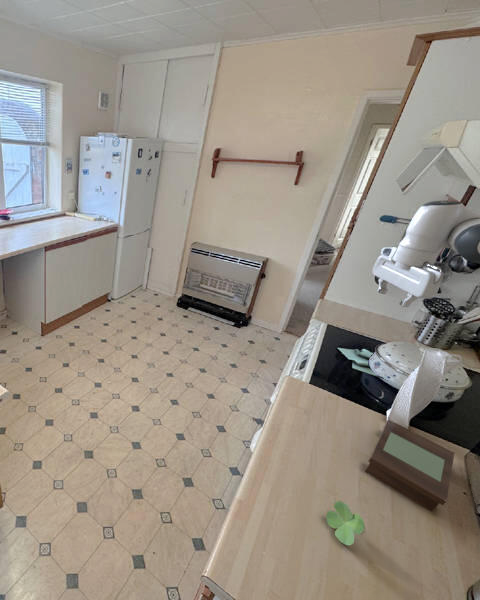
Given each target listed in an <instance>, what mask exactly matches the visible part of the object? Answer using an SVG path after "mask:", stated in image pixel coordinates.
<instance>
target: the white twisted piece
mask: <svg viewBox="0 0 480 600" xmlns="http://www.w3.org/2000/svg"><path fill="white" fill-rule="evenodd" d="M455 357H458V358H459V360H458V359H457V358H455ZM462 363H463V357H462V356H461V355H459V354H457V353H455V354H454V353H452V354H451V353H450V352H447V351H444V350H442V348H439V347H437V348H436V347H429V348H425V349H424V352H423V355H422V358H421V360H420V363H419V365H418V366H417V367H416V368H415V369H414V370H413V371H412V372H411V373H410V374H409V376H408V377H407V378H406V379H405V381H404V382H403V384H402V385H401V387H400V389H399V390H398V393H397V394H396V396H395V398H394V400H393V403H392V405H391V408H389V409H387V411H386V421H385V422H387V421H388V420H391V421H393V420H394V421H393V422H395V423H397V424H399V425H401V426H403V427H405V428H407V429H409V428H410V422H411V420H412V418H414V417H415V416H417V415H418V414H419V413H421V412H422V411H423V410H425V408H426V407H428V405H429V404H430V403H431V402H432V401H433V400H434V399H435V397H436V396H437V395H438V393H439V391H440V389H441V386H442V384H443V381H444V377H445V375H446V374H448V373H449V372H451V371H452V370H454V369H455V368H456V367H458V366H459V365H460V364H462ZM388 418H390V419H388ZM396 421H397V422H396ZM398 422H399V423H398ZM402 424H404V425H405V426H404V425H402ZM406 426H407V427H406ZM408 427H409V428H408ZM409 430H410V429H409Z"/></svg>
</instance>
